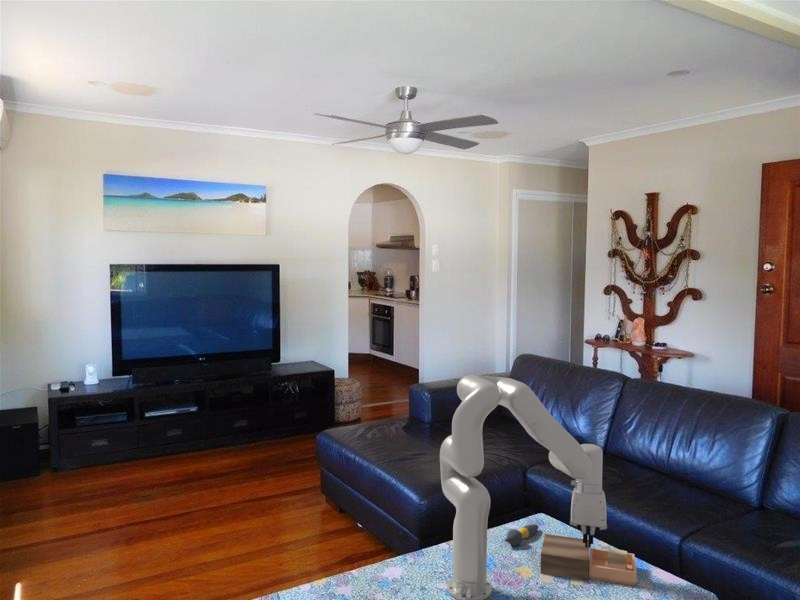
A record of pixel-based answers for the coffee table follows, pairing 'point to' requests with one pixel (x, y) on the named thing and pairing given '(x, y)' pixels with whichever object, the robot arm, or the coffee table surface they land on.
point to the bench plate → (564, 557)
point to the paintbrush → (520, 534)
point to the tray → (607, 574)
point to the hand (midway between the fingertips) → (587, 545)
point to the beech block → (617, 559)
